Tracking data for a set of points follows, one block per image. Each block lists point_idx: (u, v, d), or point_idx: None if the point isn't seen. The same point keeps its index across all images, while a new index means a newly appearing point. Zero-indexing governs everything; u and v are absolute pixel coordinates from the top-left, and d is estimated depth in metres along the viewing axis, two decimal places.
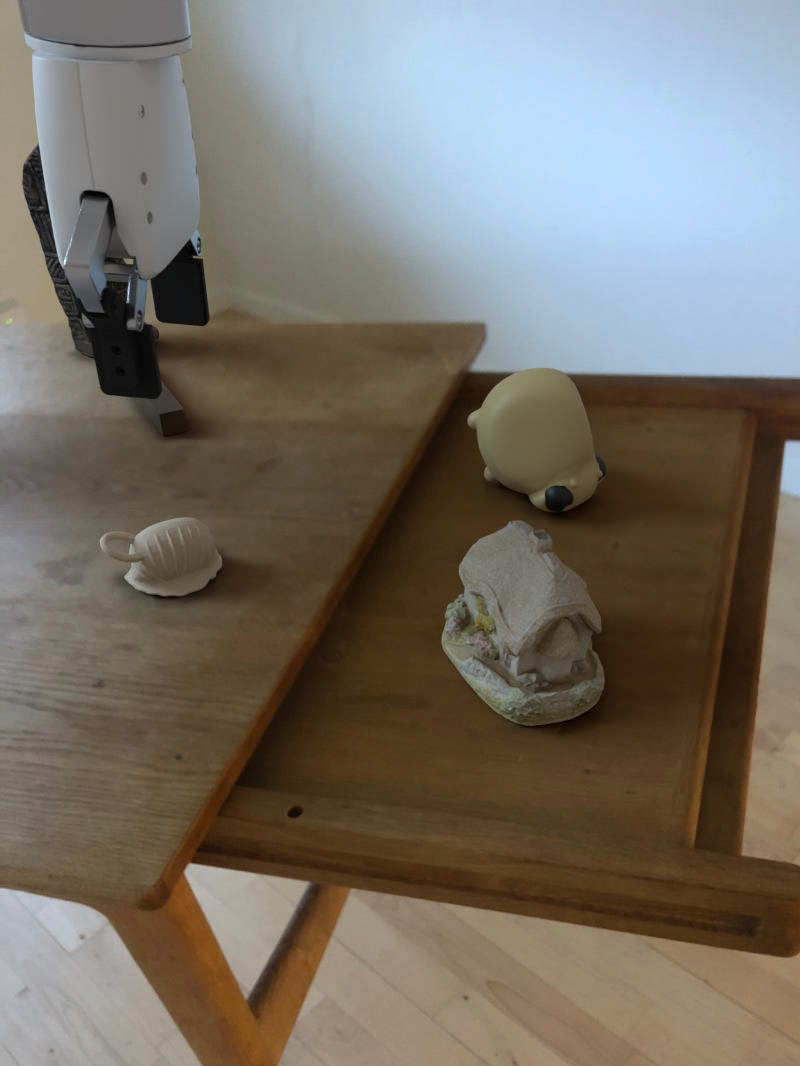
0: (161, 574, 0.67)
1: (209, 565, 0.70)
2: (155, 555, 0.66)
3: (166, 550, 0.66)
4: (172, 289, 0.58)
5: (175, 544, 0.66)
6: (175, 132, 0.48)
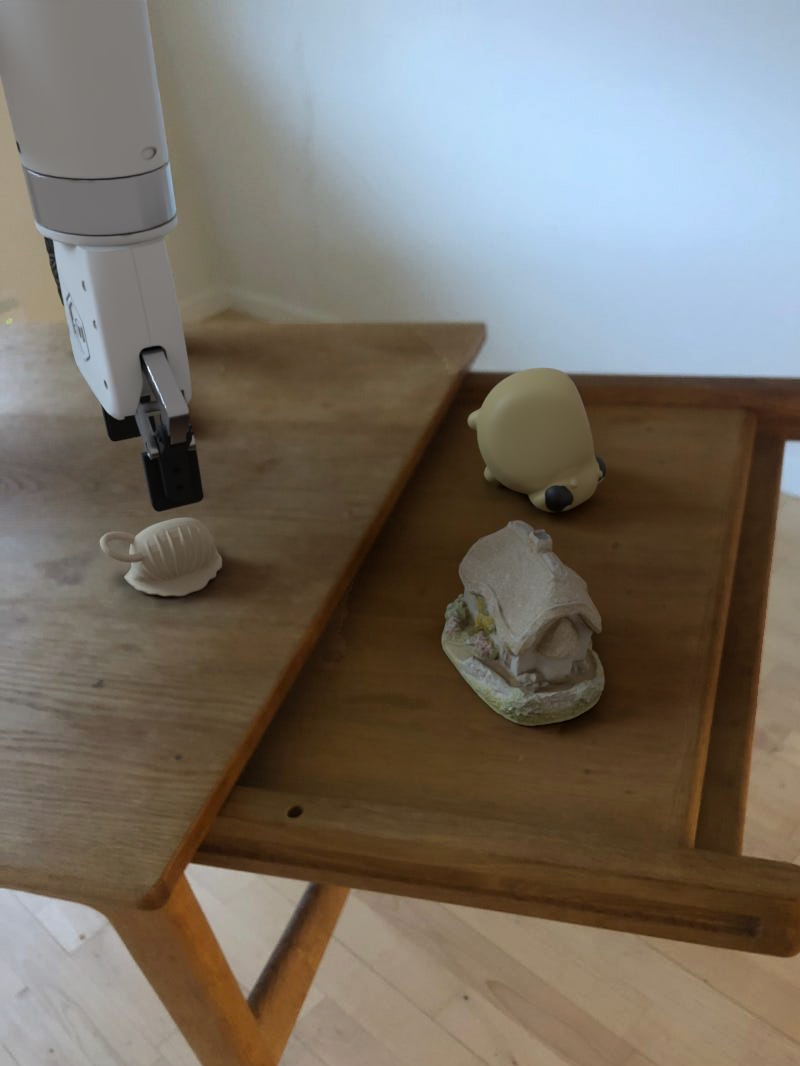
0: (161, 574, 0.67)
1: (209, 565, 0.70)
2: (155, 555, 0.66)
3: (166, 550, 0.66)
4: None
5: (175, 544, 0.66)
6: None
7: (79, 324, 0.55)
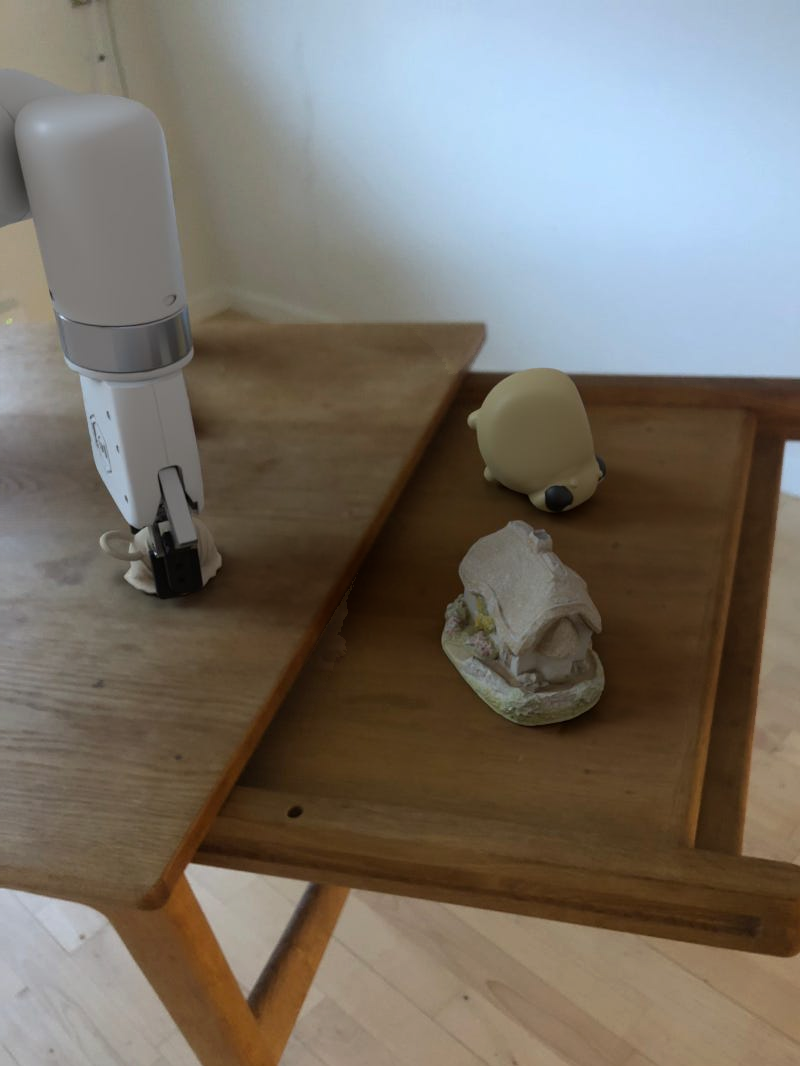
0: None
1: (209, 564, 0.70)
2: None
3: None
4: None
5: None
6: None
7: (102, 442, 0.60)
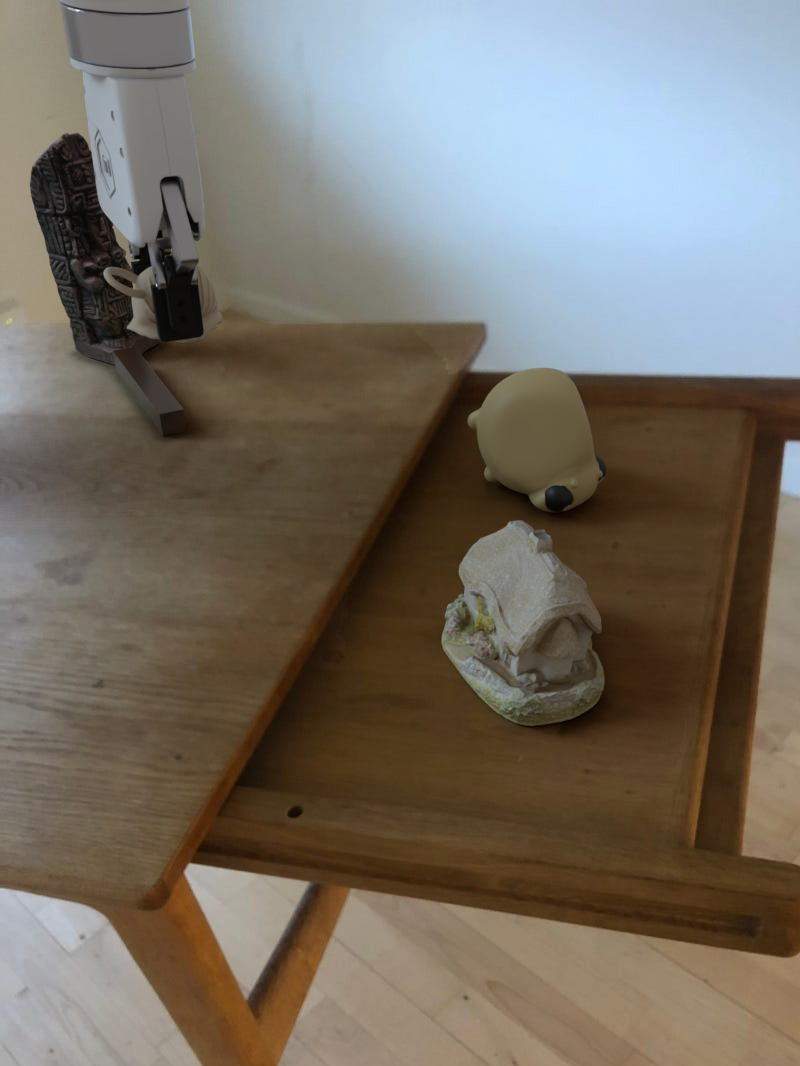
0: None
1: (210, 316, 0.71)
2: None
3: None
4: None
5: None
6: None
7: (106, 159, 0.62)
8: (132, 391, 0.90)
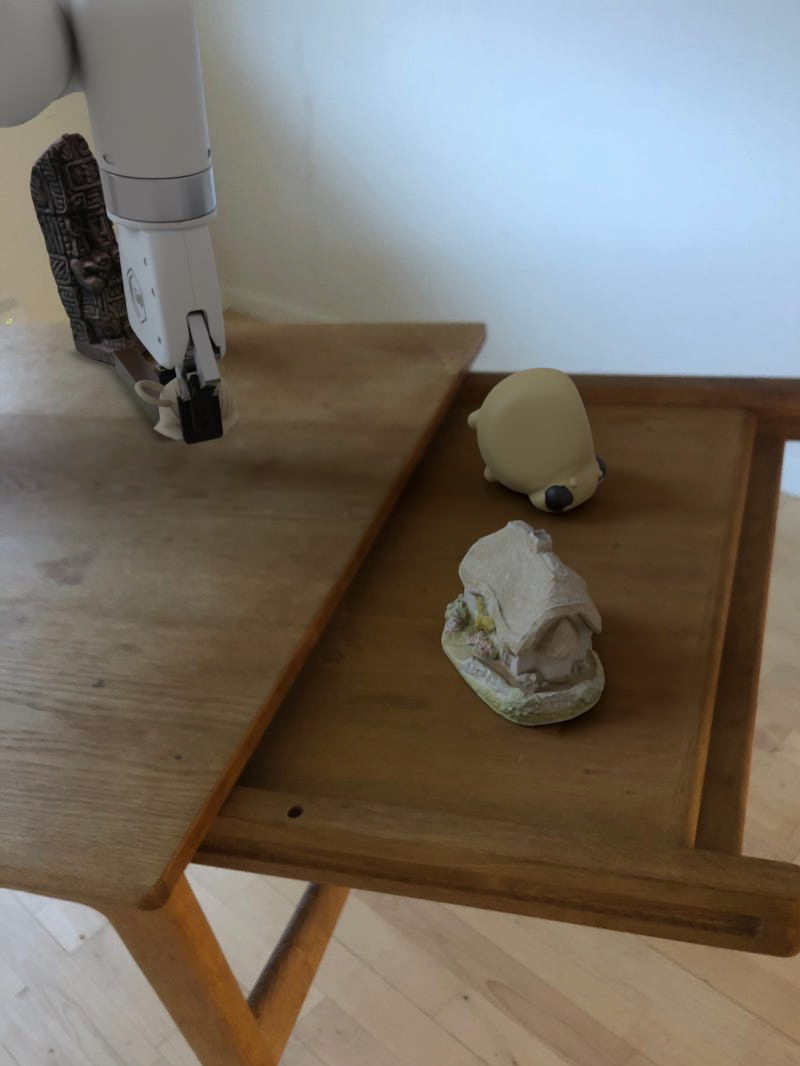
0: None
1: (228, 417, 0.79)
2: None
3: None
4: None
5: None
6: None
7: (138, 292, 0.70)
8: (132, 391, 0.90)
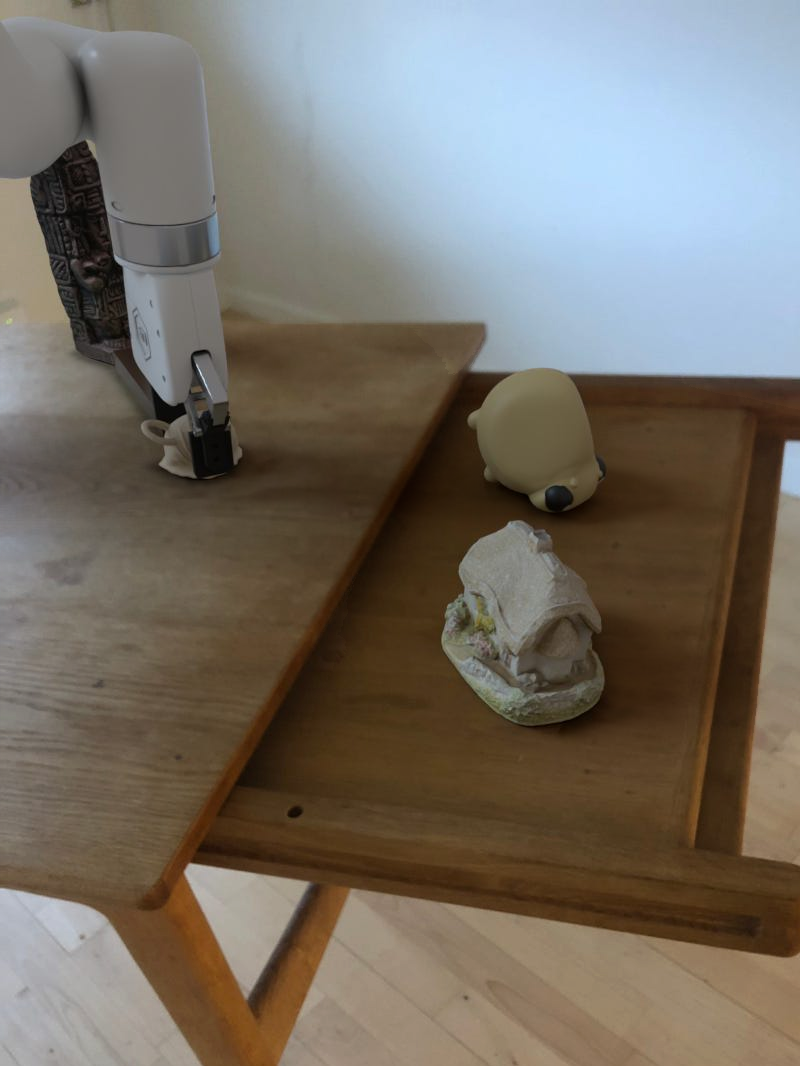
0: (191, 458, 0.79)
1: None
2: (187, 440, 0.78)
3: None
4: None
5: None
6: None
7: (143, 331, 0.72)
8: (132, 391, 0.90)
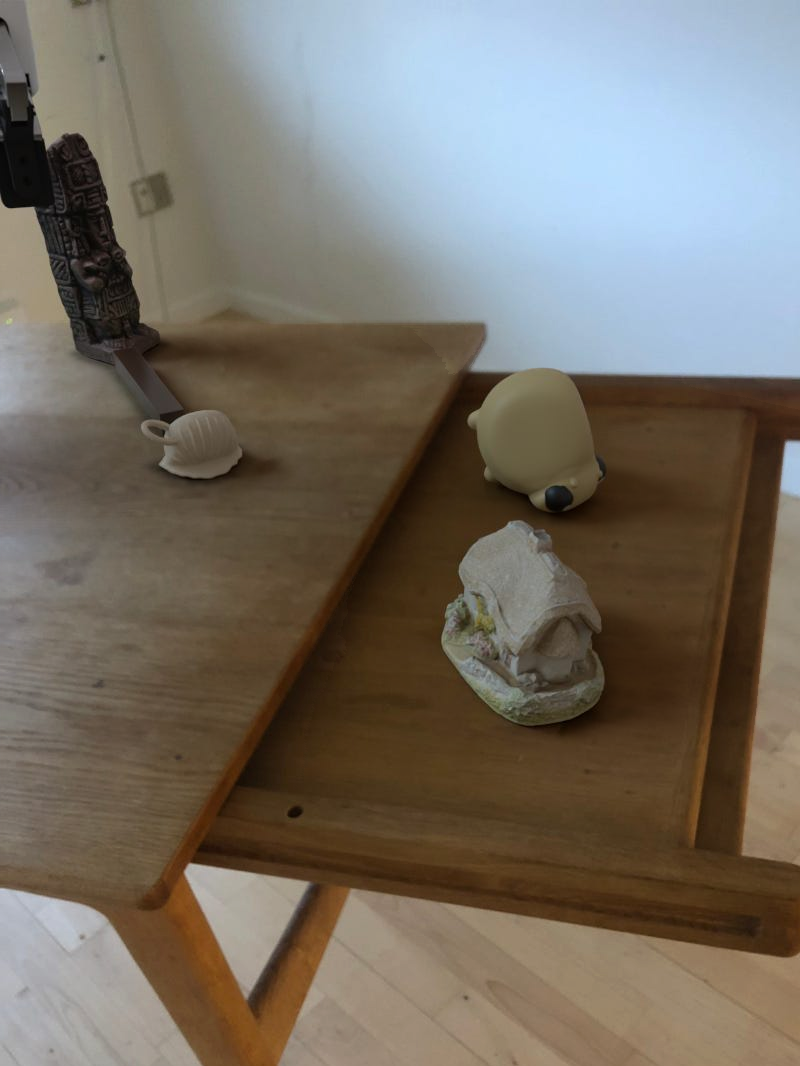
0: (191, 458, 0.79)
1: (231, 453, 0.81)
2: (187, 440, 0.78)
3: (196, 435, 0.78)
4: None
5: (204, 431, 0.78)
6: None
7: None
8: (132, 391, 0.90)
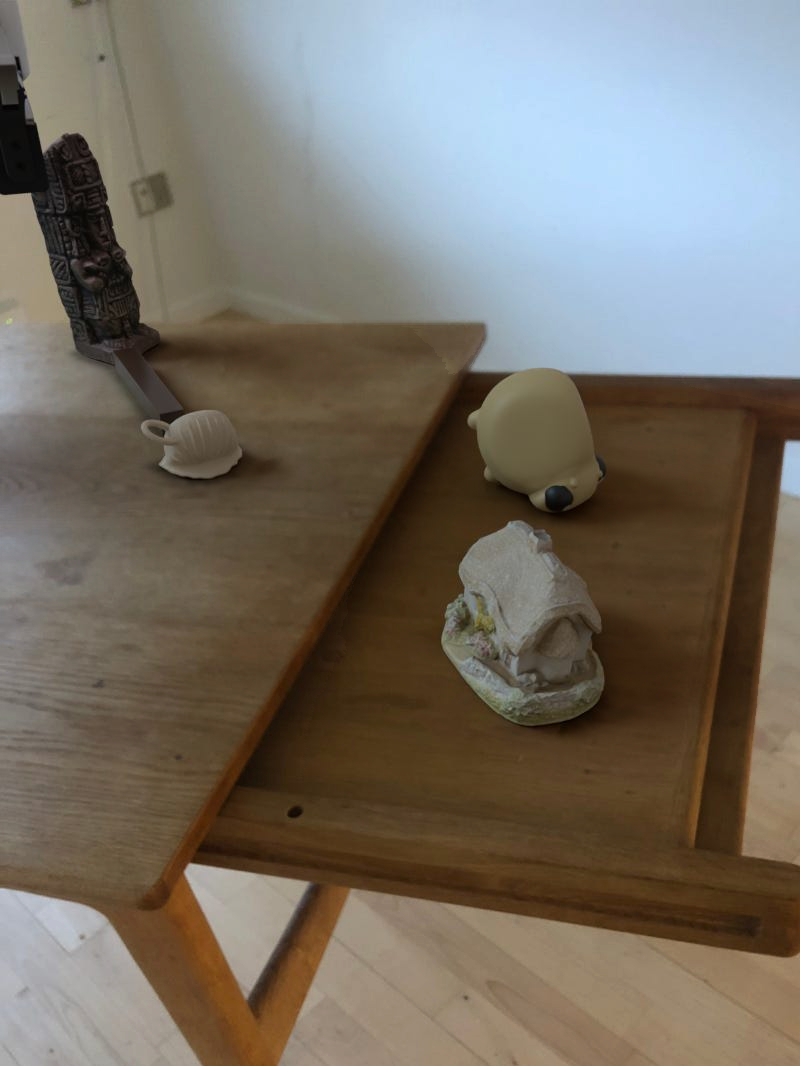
0: (191, 458, 0.79)
1: (231, 453, 0.81)
2: (187, 440, 0.78)
3: (196, 436, 0.78)
4: None
5: (204, 431, 0.78)
6: None
7: None
8: (132, 391, 0.90)
